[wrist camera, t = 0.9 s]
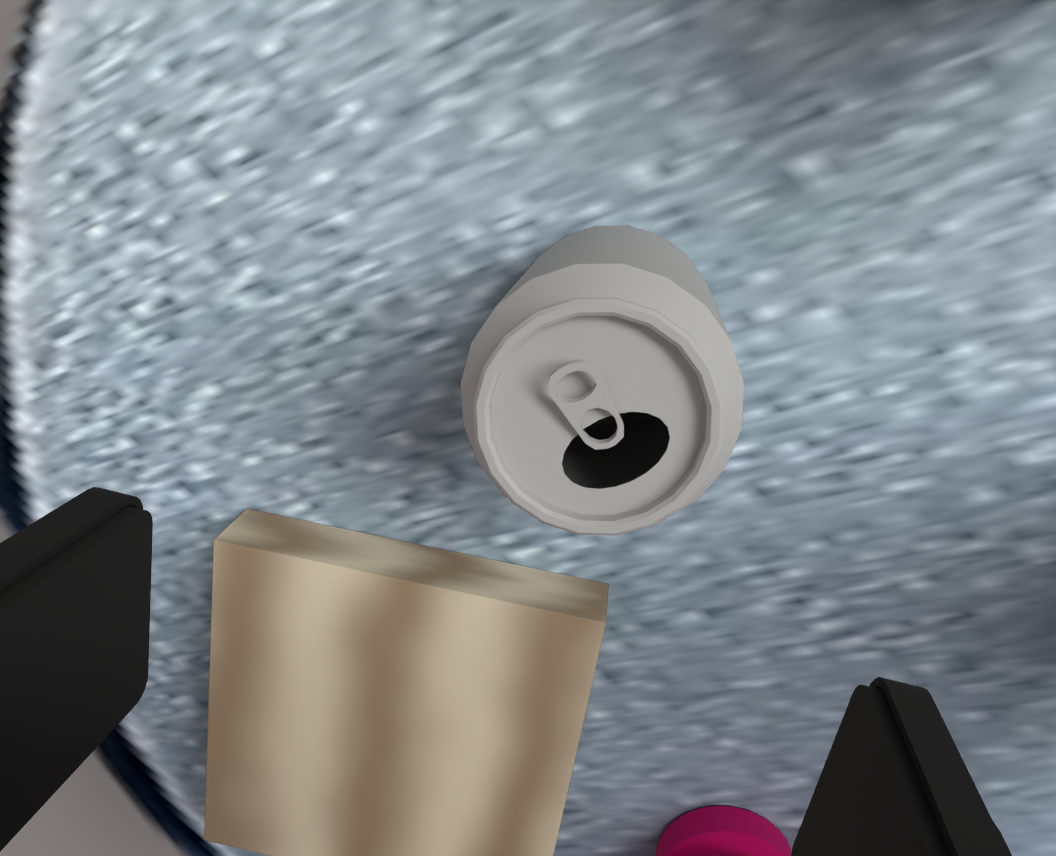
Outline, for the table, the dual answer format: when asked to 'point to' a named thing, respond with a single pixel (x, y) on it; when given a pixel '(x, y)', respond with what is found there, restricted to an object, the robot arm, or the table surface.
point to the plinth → (390, 695)
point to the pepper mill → (722, 834)
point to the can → (604, 385)
